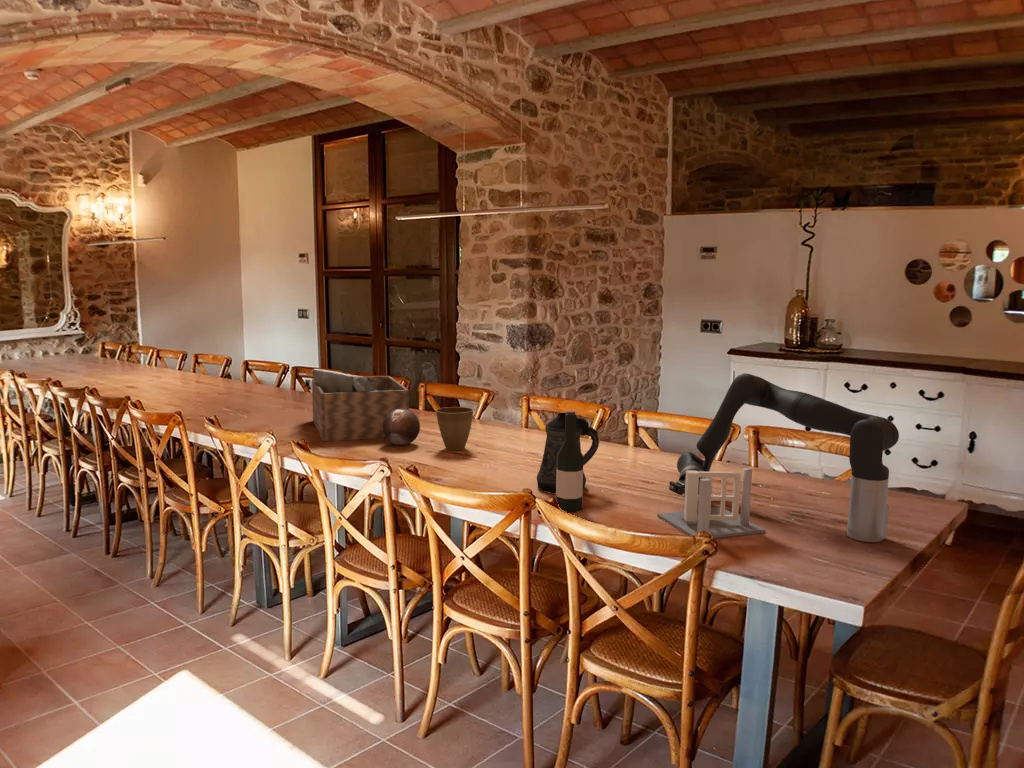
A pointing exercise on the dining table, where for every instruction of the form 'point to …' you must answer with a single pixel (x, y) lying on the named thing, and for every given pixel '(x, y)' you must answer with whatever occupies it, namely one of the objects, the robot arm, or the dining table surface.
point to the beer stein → (553, 445)
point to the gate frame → (716, 526)
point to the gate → (693, 496)
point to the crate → (357, 410)
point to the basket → (341, 382)
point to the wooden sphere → (401, 426)
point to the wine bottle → (569, 469)
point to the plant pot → (455, 426)
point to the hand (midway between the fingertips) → (689, 496)
